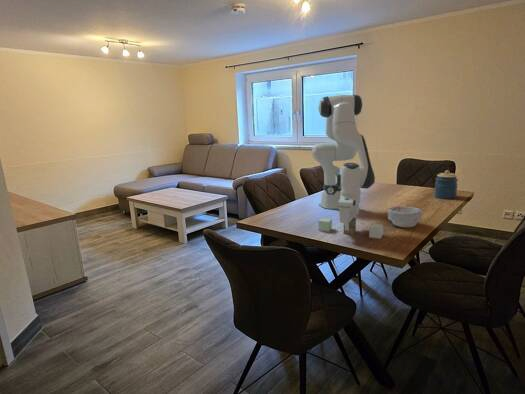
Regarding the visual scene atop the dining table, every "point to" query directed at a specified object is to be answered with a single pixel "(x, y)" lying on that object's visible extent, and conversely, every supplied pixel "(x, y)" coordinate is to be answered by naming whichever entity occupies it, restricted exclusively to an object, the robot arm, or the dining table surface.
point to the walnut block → (351, 227)
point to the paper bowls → (404, 216)
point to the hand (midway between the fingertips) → (349, 227)
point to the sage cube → (325, 224)
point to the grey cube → (376, 231)
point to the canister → (446, 185)
